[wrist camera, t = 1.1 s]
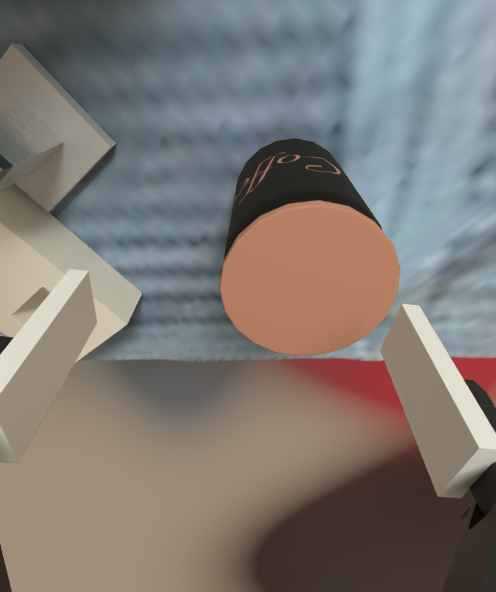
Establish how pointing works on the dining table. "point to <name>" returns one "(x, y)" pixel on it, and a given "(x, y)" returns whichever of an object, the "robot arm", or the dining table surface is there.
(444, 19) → the dining table surface
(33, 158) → the plug
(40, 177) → the beige flat square plate
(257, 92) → the dining table surface
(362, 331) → the coffee jar
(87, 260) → the port box
